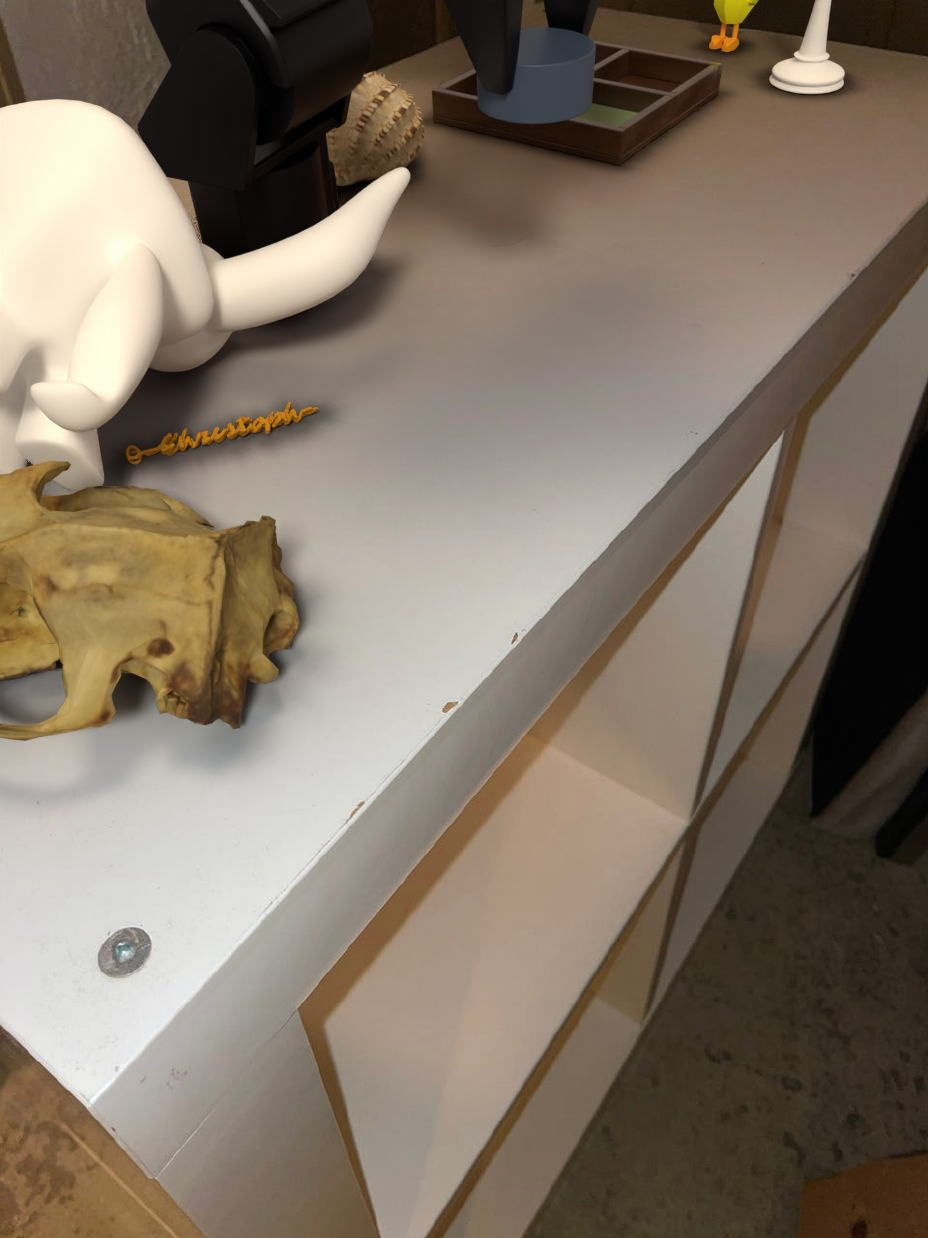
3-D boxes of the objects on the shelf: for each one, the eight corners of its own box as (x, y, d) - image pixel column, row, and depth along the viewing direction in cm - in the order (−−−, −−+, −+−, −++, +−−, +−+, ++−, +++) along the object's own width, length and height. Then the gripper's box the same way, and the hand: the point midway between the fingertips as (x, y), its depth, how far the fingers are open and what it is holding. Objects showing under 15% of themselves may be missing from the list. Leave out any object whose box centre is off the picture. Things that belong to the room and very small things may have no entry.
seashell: (380, 261, 55) (450, 128, 58) (345, 183, 50) (424, 39, 52) (270, 237, 58) (341, 110, 60) (226, 160, 52) (306, 24, 55)
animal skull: (-118, 642, 35) (-232, 490, 30) (295, 536, 36) (243, 376, 32) (-204, 876, 27) (-374, 717, 23) (328, 731, 28) (264, 553, 24)
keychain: (131, 472, 38) (123, 448, 37) (129, 462, 38) (121, 439, 38) (322, 422, 39) (317, 399, 39) (316, 415, 40) (311, 392, 40)
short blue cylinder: (550, 133, 35) (552, 72, 33) (454, 109, 36) (452, 50, 35) (613, 96, 37) (618, 38, 35) (520, 75, 39) (521, 19, 37)
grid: (619, 165, 57) (622, 131, 55) (432, 121, 62) (431, 89, 61) (718, 94, 64) (723, 62, 63) (544, 60, 70) (545, 31, 69)
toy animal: (310, 557, 35) (436, 220, 41) (70, 309, 25) (288, -82, 31) (-49, 542, 43) (102, 267, 50) (-331, 356, 34) (-96, 44, 40)
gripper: (643, -695, 16) (582, 217, 28) (985, -597, 26) (836, 43, 38) (198, -614, 21) (303, 136, 32) (631, -558, 31) (594, 0, 42)
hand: (533, 73), depth 36 cm, fingers closed on short blue cylinder, 4 cm apart
